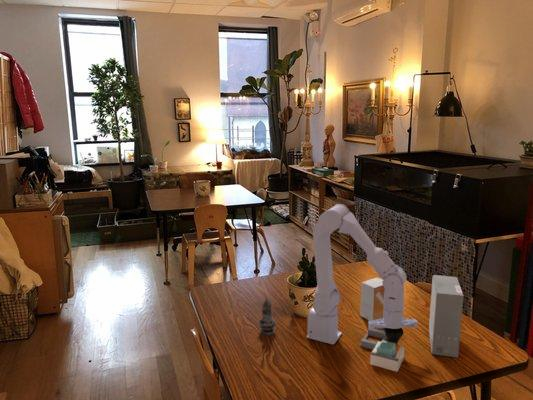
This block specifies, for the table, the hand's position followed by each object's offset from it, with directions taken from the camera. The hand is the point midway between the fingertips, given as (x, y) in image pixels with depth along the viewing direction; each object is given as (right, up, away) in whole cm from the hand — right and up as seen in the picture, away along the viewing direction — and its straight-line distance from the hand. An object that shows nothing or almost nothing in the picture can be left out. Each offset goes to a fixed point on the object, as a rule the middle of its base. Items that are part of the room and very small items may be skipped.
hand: (391, 349), depth 130 cm
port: (-2, -2, -4) cm, 5 cm away
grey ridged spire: (-38, +1, +14) cm, 41 cm away
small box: (0, +4, +23) cm, 23 cm away
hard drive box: (+17, 0, +5) cm, 18 cm away
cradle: (-4, 0, +6) cm, 7 cm away
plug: (-3, -2, -4) cm, 5 cm away
